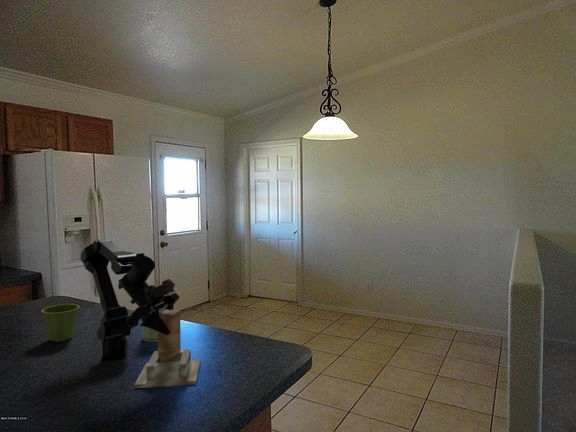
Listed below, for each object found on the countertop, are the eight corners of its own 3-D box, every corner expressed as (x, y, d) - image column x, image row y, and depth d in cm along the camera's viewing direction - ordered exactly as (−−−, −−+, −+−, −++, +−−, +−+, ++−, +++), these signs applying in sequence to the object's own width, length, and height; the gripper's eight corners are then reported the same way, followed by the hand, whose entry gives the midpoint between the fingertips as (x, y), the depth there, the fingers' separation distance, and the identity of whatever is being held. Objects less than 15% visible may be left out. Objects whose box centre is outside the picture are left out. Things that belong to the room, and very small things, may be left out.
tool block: (134, 388, 100) (134, 369, 100) (146, 365, 114) (146, 349, 114) (195, 384, 102) (195, 366, 102) (200, 362, 116) (200, 346, 116)
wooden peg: (158, 355, 106) (157, 313, 106) (166, 349, 110) (166, 309, 110) (172, 357, 105) (171, 315, 105) (180, 351, 109) (180, 310, 109)
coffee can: (150, 331, 144) (149, 295, 143) (176, 332, 143) (175, 295, 142) (136, 341, 134) (135, 302, 133) (164, 342, 133) (163, 303, 132)
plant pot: (50, 347, 128) (49, 315, 128) (36, 339, 135) (35, 309, 135) (86, 337, 138) (85, 307, 137) (71, 330, 145) (70, 301, 144)
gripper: (135, 278, 99) (173, 323, 96) (173, 266, 117) (206, 304, 115) (110, 306, 101) (147, 350, 99) (151, 290, 119) (183, 327, 117)
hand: (173, 331), depth 107 cm, fingers closed on wooden peg, 4 cm apart
